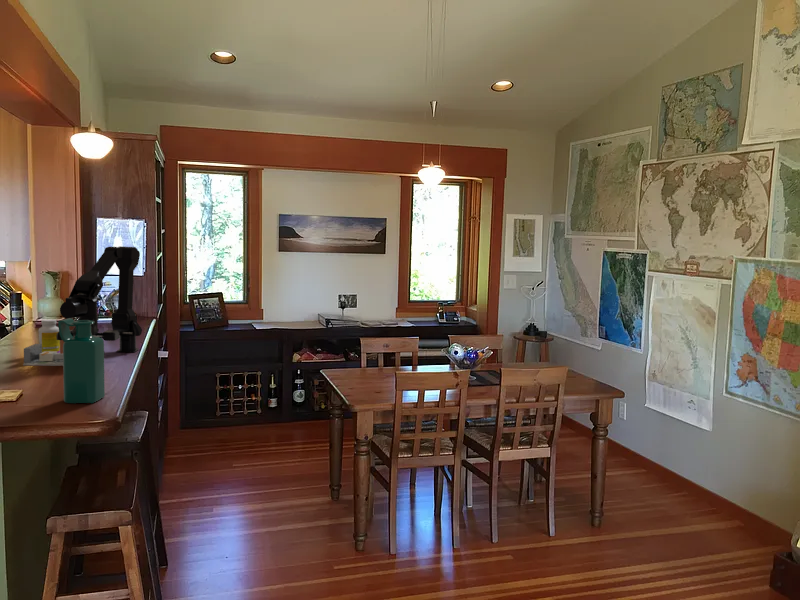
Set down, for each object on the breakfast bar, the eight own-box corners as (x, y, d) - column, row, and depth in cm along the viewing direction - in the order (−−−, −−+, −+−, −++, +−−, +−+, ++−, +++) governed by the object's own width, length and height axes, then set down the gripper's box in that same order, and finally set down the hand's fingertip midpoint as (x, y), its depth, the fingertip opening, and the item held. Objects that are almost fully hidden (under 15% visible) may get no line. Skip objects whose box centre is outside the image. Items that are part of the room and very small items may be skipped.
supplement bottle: (63, 355, 224) (63, 320, 223) (44, 358, 219) (44, 322, 217) (54, 353, 228) (53, 318, 227) (35, 355, 222) (34, 320, 221)
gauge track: (36, 359, 216) (36, 343, 216) (79, 359, 218) (78, 344, 218) (23, 365, 206) (22, 348, 206) (68, 365, 208) (67, 349, 208)
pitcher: (107, 396, 173) (106, 318, 171) (93, 404, 165) (92, 322, 162) (71, 395, 173) (70, 317, 170) (55, 403, 164) (54, 321, 162)
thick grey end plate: (46, 358, 215) (45, 349, 214) (86, 358, 217) (86, 349, 216) (36, 362, 207) (35, 353, 207) (78, 363, 209) (77, 354, 209)
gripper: (49, 317, 203) (50, 364, 205) (109, 318, 206) (110, 365, 207) (62, 313, 214) (63, 357, 216) (119, 314, 217) (120, 358, 218)
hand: (88, 359), depth 214 cm, fingers closed
